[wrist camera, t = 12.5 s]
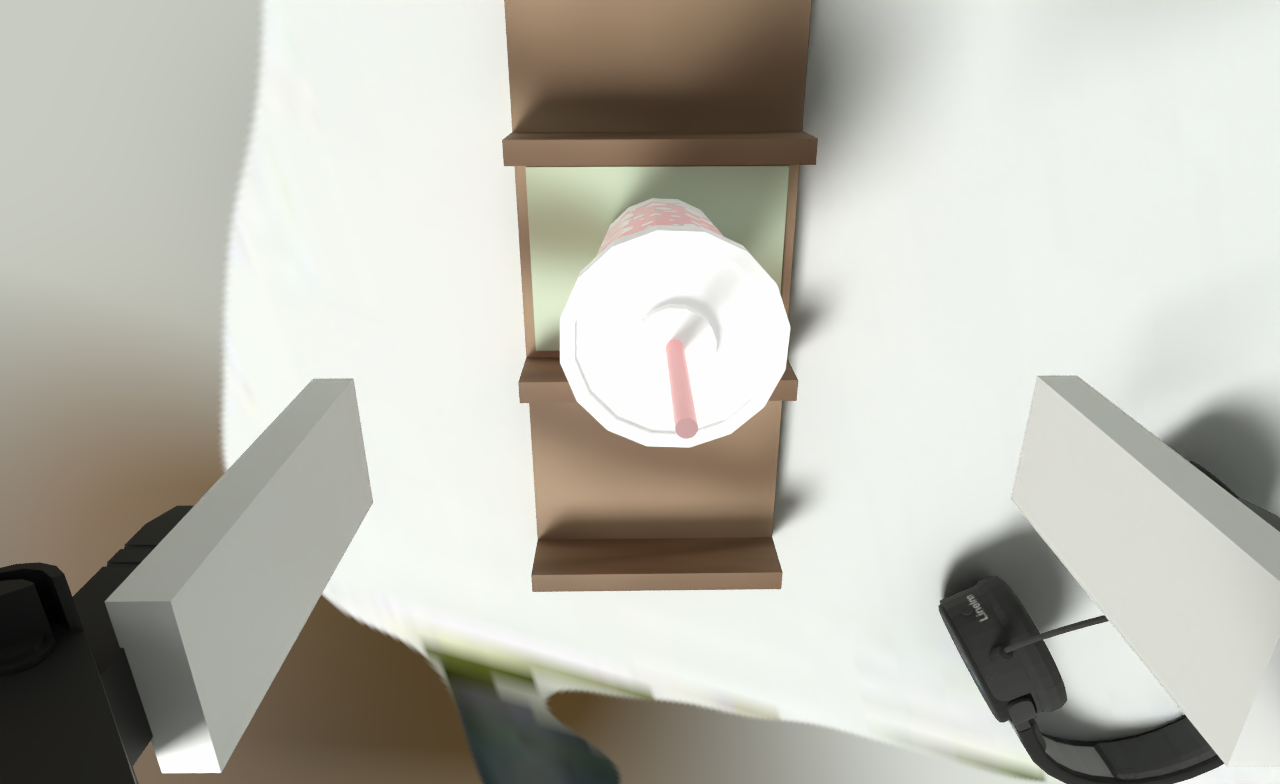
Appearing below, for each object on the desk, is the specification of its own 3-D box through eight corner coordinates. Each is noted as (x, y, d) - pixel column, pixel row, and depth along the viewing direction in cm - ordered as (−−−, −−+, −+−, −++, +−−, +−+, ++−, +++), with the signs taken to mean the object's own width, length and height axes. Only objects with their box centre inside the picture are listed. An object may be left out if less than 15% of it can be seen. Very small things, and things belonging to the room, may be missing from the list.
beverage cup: (692, 141, 28) (746, 223, 15) (775, 287, 30) (885, 471, 17) (545, 234, 29) (477, 383, 16) (634, 368, 31) (637, 596, 18)
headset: (1366, 507, 24) (1478, 814, 32) (1155, 363, 32) (1289, 637, 41) (961, 724, 27) (1161, 952, 35) (865, 541, 35) (1046, 760, 44)
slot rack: (499, -147, 25) (481, -175, 22) (816, -147, 26) (843, -174, 22) (541, 542, 36) (532, 591, 32) (767, 539, 36) (780, 588, 32)
